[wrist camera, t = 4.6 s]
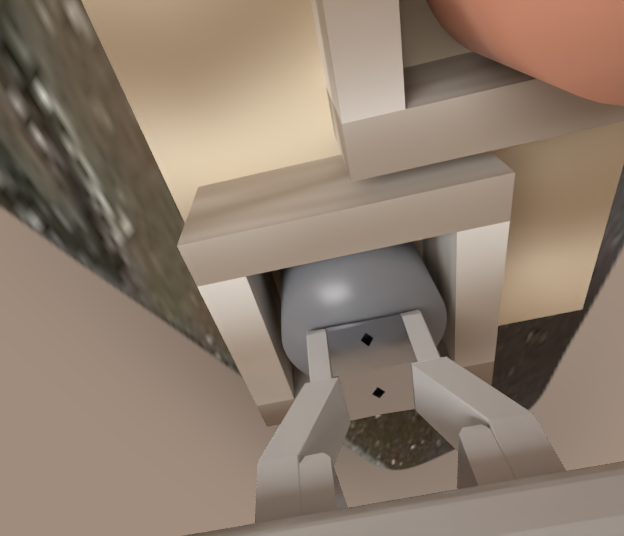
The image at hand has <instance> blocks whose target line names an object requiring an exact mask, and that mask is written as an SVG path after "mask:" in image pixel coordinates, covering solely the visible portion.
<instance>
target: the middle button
mask: <svg viewBox="0 0 624 536" xmlns="http://www.w3.org/2000/svg"><path fill="white" fill-rule="evenodd" d="M426 1H427V3H428V5H429V7H430V9H431V11H432V13H433V15H434V16H435V18H436V19H437V20H438V22H439V23H440V25H441V26H442V27H443V29H444V30H445V31H446V32H447V33H448V34H449V35H450V36H451V37H452V38H453V39H454V40H456V41H457V42H458V43H460V44H461V45H462V46H464V47H465V48H467V49H469V50H471V51H473V52H475V53H477V54H479V55H481V56H484V57H486V58H489V59H491V60H493V61H496V62H498V63H500V64H503V65H505V66H508V67H510V68H512V69H515V70H517V71H520V72H522V73H524V74H527V75H529V76H532V77H534V78H536V79H539V80H541V81H543V82H546V83H548V84H551V85H553V86H555V87H558V88H560V89H563V90H565V91H567V92H570V93H572V94H575V95H577V96H579V97H582V98H585V99H589V100H592V101H595V102H599V103H604V104H612V105H620V106H624V0H426Z"/></svg>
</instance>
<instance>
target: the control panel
mask: <svg viewBox="0 0 624 536" xmlns="http://www.w3.org/2000/svg"><path fill="white" fill-rule="evenodd" d="M81 1H82V3H83V5H84V7H85V9H86V11H87V14H88V16H89V18H90V20H91V22H92V24H93V26H94V29H95V31H96V33H97V35H98V37H99V39H100V42H101V44H102V46H103V48H104V50H105V52H106V54H107V57H108V59H109V61H110V63H111V65H112V67H113V69H114V72H115V74H116V76H117V78H118V80H119V82H120V85H121V87H122V89H123V91H124V93H125V95H126V97H127V100H128V102H129V104H130V106H131V108H132V110H133V112H134V115H135V117H136V119H137V121H138V123H139V125H140V128H141V130H142V132H143V134H144V136H145V138H146V140H147V143H148V145H149V147H150V149H151V151H152V153H153V155H154V158H155V160H156V162H157V164H158V166H159V168H160V171H161V173H162V175H163V177H164V179H165V181H166V183H167V186H168V188H169V190H170V192H171V194H172V196H173V198H174V201H175V203H176V205H177V207H178V209H179V211H180V214H181V216H182V218H183V220H184V222H185V225H184V228H183V231H182V234H181V236H180V239H179V242H178V245H177V247H178V249H179V251H180V253H181V255H182V257H183V259H184V261H185V263H186V265H187V267H188V269H189V271H190V273H191V275H192V277H193V279H194V281H195V283H196V285H197V287H198V289H199V291H200V293H201V295H202V297H203V299H204V301H205V303H206V305H207V307H208V309H209V311H210V313H211V315H212V317H213V319H214V321H215V323H216V325H217V327H218V329H219V331H220V333H221V335H222V337H223V339H224V341H225V343H226V345H227V347H228V349H229V351H230V353H231V355H232V357H233V359H234V361H235V363H236V365H237V367H238V369H239V371H240V373H241V375H242V377H243V379H244V381H245V383H246V385H247V387H248V389H249V391H250V393H251V395H252V397H253V399H254V401H255V403H256V405H257V407H258V409H259V411H260V413H261V415H262V417H263V419H264V421H265V423H266V425H267V426H272V425H278V424H281V422H282V421H283V419H284V417H285V416H286V414H287V412H288V410H289V409H290V407H291V405H292V404H293V402H294V400H295V399H296V397H297V395H298V394H299V392H300V390H301V389H302V387H303V385H304V384H305V383H309V382H310V376H308V375H307V374H305V373H303V372H302V371H301V370H299V369H298V368H297V367H296V366H295V365H294V364H293V363H292V362H291V361H290V359H289V358H288V356H287V355H286V352H285V350H284V347H283V344H282V332H281V269H284V268H289V267H293V266H298V265H303V264H308V263H312V262H317V261H322V260H327V259H331V258H336V257H341V256H346V255H350V254H355V253H360V252H365V251H369V250H374V249H379V248H384V247H388V246H393V245H398V244H403V243H407V242H412V241H413V242H414V244H415V246H416V248H417V250H418V252H419V254H420V256H421V258H422V260H423V262H424V264H425V266H426V268H427V270H428V272H429V274H430V276H431V278H432V280H433V282H434V283H435V285H436V287H437V289H438V291H439V293H440V295H441V297H442V299H443V301H444V304H445V307H446V313H447V322H446V328H445V332H444V334H443V336H442V339H441V341H440V342H439V344H438V345H437V347H436V348H437V350H438V352H439V355H440V357H446V356H447V357H448V358H450V359H451V360H453V361H454V362H456V363H457V364H459V365H460V366H462V367H463V368H465V369H466V370H468V371H469V372H471V373H472V374H474V375H475V376H477V377H478V378H480V379H481V380H483V381H484V382H486V383H487V384H489V385H492V378H493V369H494V360H495V351H496V342H497V333H498V326H500V325H505V324H510V323H515V322H520V321H525V320H531V319H536V318H541V317H546V316H551V315H556V314H562V313H567V312H572V311H577V310H582V309H583V306H584V302H585V299H586V295H587V291H588V288H589V284H590V281H591V277H592V274H593V270H594V267H595V263H596V260H597V256H598V253H599V249H600V246H601V242H602V239H603V235H604V232H605V228H606V224H607V221H608V217H609V214H610V210H611V207H612V203H613V200H614V196H615V193H616V189H617V186H618V182H619V179H620V175H621V172H622V168H623V165H624V106H620V105H612V104H604V103H599V102H595V101H592V100H589V99H585V98H582V97H579V96H577V95H575V94H572V93H570V92H567V91H565V90H563V89H560V88H558V87H555V86H553V85H551V84H548V83H546V82H543V81H541V80H539V79H536V78H534V77H532V76H529V75H527V74H524V73H522V72H520V71H517V70H515V69H512V68H510V67H508V66H505V65H503V64H500V63H498V62H496V61H493V60H491V59H489V58H486V57H484V56H481V55H479V54H477V53H475V52H473V51H471V50H469V49H467V48H465V47H464V46H462V45H461V44H460V43H458V42H457V41H456V40H454V39H453V38H452V37H451V36H450V35H449V34H448V33H447V32H446V31H445V30H444V29H443V27H442V26H441V25H440V23H439V22H438V20H437V19H436V18H435V16H434V15H433V13H432V11H431V9H430V7H429V5H428V3H427V1H426V0H81Z"/></svg>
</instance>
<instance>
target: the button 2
mask: <svg viewBox="0 0 624 536" xmlns="http://www.w3.org/2000/svg"><path fill="white" fill-rule="evenodd" d="M414 310H419V311H421V313H422V315H423V317H424V320H425V322H426V324H427V327H428V329H429V331H430V334H431V336H432V338H433V341H434V343H435V345H436V347H437V345H438V344H439V342H440V341H441V339H442V336H443V334H444V332H445V328H446V322H447V313H446V307H445V304H444V301H443V299H442V297H441V295H440V293H439V291H438V289H437V287H436V285H435V283H434V282H433V280H432V278H431V276H430V274H429V272H428V270H427V268H426V266H425V264H424V262H423V260H422V258H421V256H420V254H419V252H418V250H417V248H416V246H415V244H414V242H413V241H412V242H407V243H403V244H398V245H393V246H388V247H384V248H379V249H374V250H369V251H365V252H360V253H355V254H350V255H346V256H341V257H336V258H331V259H327V260H322V261H317V262H312V263H308V264H303V265H298V266H293V267H289V268H284V269H281V332H282V344H283V347H284V350H285V352H286V355H287V356H288V358H289V359H290V361H291V362H292V363H293V364H294V365H295V366H296V367H297V368H298V369H299V370H301V371H302V372H303V373H305V374H307V375H308V376H310V375H309V363H308V350H307V338H306V336H307V332H308V331H314V330H320V329H326V328H329V327H335V326H341V325H346V324H352V323H358V322H362V321H366V320H371V319H376V318H381V317H386V316H390V315H395V314H400V313H405V312H410V311H414Z"/></svg>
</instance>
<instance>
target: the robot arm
mask: <svg viewBox="0 0 624 536" xmlns="http://www.w3.org/2000/svg"><path fill="white" fill-rule="evenodd" d="M306 338H307V350H308V363H309V375H310V382H309V383H305V384H304V385H303V387H302V389H301V390H300V392H299V394H298V395H297V397H296V399H295V400H294V402H293V404H292V405H291V407H290V409H289V410H288V412H287V414H286V416H285V417H284V419H283V421H282V422H281V424H280V426H279V427H278V429H277V431H276V433H275V434H274V436H273V438H272V439H271V441H270V443H269V444H268V446H267V448H266V449H265V451H264V453H263V454H262V456H261V458H260V459H259V461H258V466H257V488H256V489H257V490H256V513H255V524H249V525H244V526H238V527H232V528H226V529H220V530H214V531H208V532H202V533H196V534H190V535H184V536H624V461H623V462H617V463H611V464H605V465H599V466H594V467H587V468H581V469H576V470H570V471H566V470H565V468H564V466H563V464H562V463H561V461H560V459H559V457H558V456H557V454H556V452H555V451H554V449H553V447H552V445H551V444H550V442H549V440H548V439H547V437H546V435H545V433H544V432H543V430H542V428H541V426H540V425H539V423H538V421H537V420H536V418H535V416H534V414H533V413H531V412H530V411H528V410H527V409H525V408H524V407H522V406H521V405H519V404H518V403H516V402H515V401H513V400H512V399H510V398H509V397H507V396H506V395H504V394H503V393H501V392H500V391H498V390H497V389H495V388H493V387H492V386H490V385H489V384H487V383H486V382H484V381H483V380H481V379H480V378H478V377H477V376H475V375H474V374H472V373H471V372H469V371H468V370H466V369H465V368H463V367H462V366H460V365H459V364H457V363H456V362H454V361H453V360H451V359H450V358H448V357H447V356H446V357H440V355H439V352H438V350H437V348H436V345H435V343H434V341H433V338H432V336H431V334H430V331H429V329H428V327H427V324H426V322H425V320H424V317H423V315H422V313H421V311H419V310H414V311H410V312H405V313H400V314H395V315H390V316H386V317H381V318H376V319H371V320H366V321H362V322H358V323H352V324H346V325H341V326H335V327H329V328H326V329H320V330H314V331H308V332H307V336H306ZM411 409H416V411H417V412H418V413H419V414H420V415H421V416H422V417H423V418H424V419H425V420H426V421H427V422H428V423H429V424H430V425H431V426H432V427H433V428H434V429H435V430H436V431H437V432H438V433H440V434H441V435H442V436H443V437H444V438H445V439H446V440H447V441H448V442H449V443H450V444H451V445H452V446H453V447H454V448H455V449H456V450H457V451H458V473H457V489H456V490H450V491H444V492H438V493H432V494H427V495H421V496H415V497H409V498H403V499H397V500H392V501H385V502H379V503H373V504H368V505H362V506H356V507H350V508H348V507H347V503H346V501H345V498H344V495H343V492H342V489H341V486H340V483H339V480H338V477H337V475H336V472H335V469H334V464H335V462H336V459H337V457H338V454H339V451H340V449H341V446H342V444H343V441H344V439H345V436H346V433H347V431H348V428H349V426H350V421H351V420H356V419H361V418H365V417H370V416H375V415H380V414H385V413H392V412H398V411H405V410H411Z"/></svg>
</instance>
